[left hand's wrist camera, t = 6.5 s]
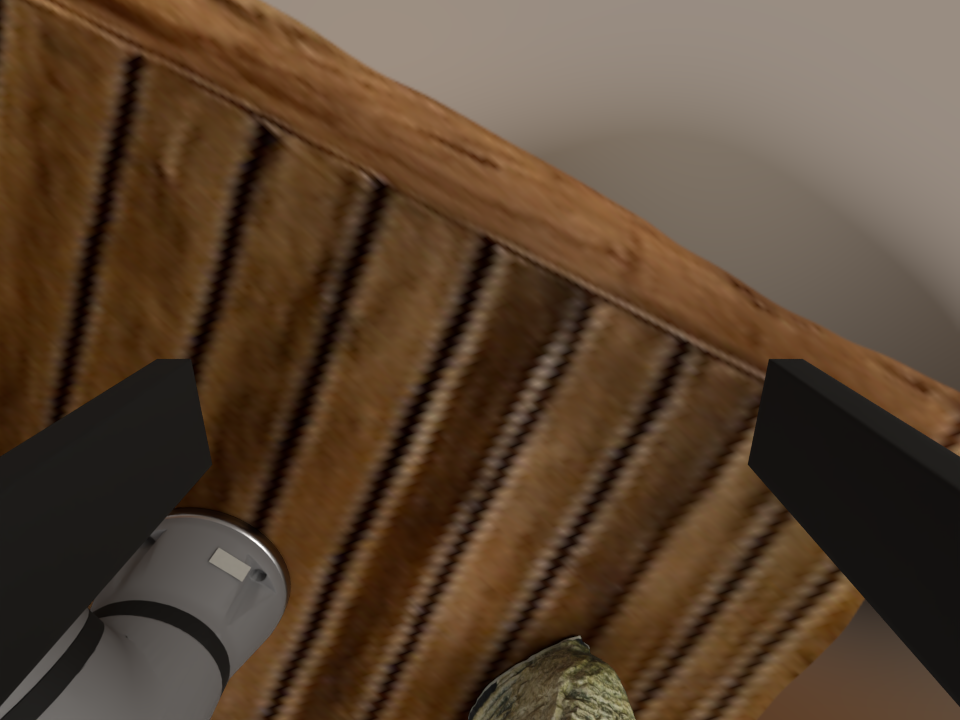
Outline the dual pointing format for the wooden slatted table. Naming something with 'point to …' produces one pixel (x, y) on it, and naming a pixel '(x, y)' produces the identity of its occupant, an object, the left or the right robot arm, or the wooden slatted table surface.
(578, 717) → the fossil
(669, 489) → the wooden slatted table surface
